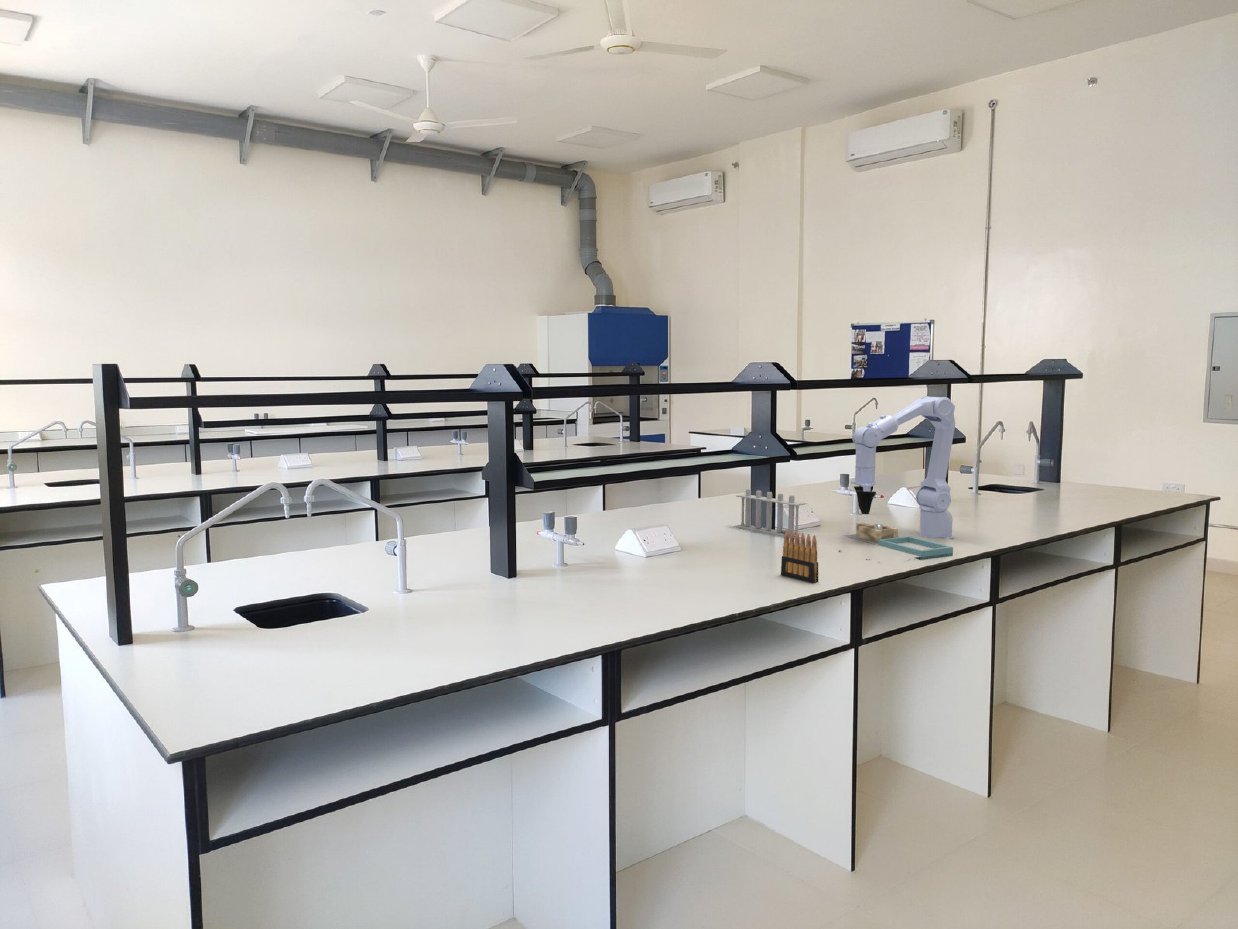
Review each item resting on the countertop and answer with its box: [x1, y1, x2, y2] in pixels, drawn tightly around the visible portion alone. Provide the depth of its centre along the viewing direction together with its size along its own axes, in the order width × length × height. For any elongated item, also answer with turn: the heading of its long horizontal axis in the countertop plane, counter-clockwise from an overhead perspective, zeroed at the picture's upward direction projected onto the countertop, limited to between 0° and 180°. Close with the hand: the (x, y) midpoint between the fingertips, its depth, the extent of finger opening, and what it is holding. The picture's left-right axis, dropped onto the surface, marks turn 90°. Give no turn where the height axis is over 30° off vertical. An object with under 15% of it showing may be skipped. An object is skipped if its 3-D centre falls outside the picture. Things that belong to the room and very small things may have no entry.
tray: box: [877, 535, 954, 561], centre depth 244 cm, size 12×17×2 cm
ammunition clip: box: [780, 529, 819, 584], centre depth 214 cm, size 11×2×12 cm, turn 39°
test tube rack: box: [734, 488, 806, 540], centre depth 272 cm, size 25×4×13 cm, turn 41°
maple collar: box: [855, 522, 899, 543], centre depth 260 cm, size 12×8×4 cm, turn 26°
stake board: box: [843, 523, 884, 545], centre depth 259 cm, size 14×13×5 cm
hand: (864, 511), depth 255 cm, fingers open, 7 cm apart
